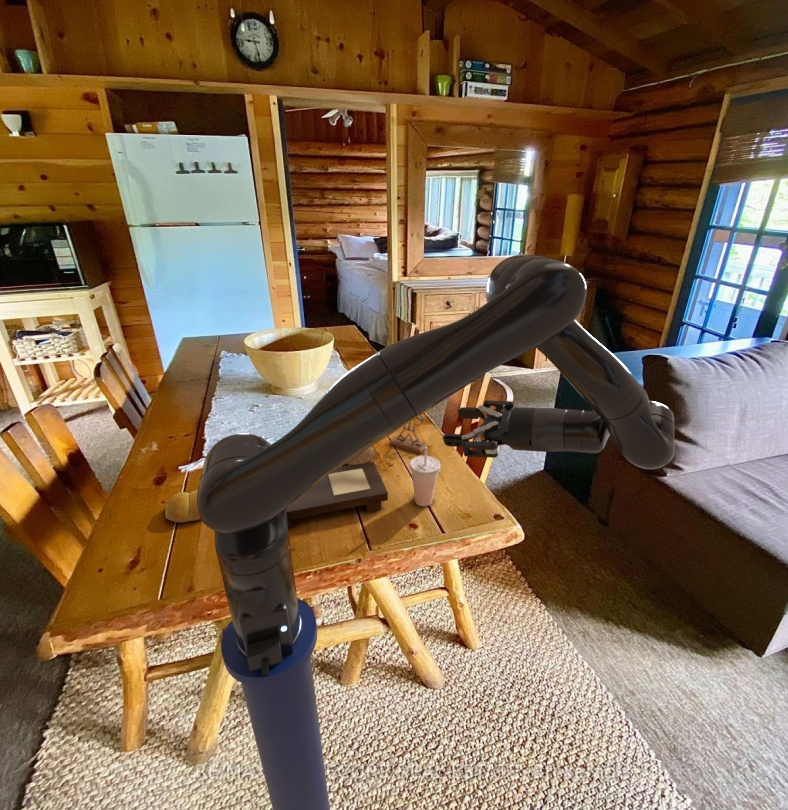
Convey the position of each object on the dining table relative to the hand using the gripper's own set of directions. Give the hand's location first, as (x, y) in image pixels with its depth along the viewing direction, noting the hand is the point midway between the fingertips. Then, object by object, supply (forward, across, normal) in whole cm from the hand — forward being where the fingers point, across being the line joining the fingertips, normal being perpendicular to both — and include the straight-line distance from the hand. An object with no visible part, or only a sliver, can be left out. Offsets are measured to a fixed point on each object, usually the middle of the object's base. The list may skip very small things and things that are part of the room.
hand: (452, 425), depth 83 cm
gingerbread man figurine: (+22, -16, +19) cm, 34 cm away
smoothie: (+10, +2, +19) cm, 22 cm away
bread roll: (+50, +26, +6) cm, 57 cm away
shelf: (+28, +12, +13) cm, 33 cm away
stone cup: (+34, -6, +15) cm, 38 cm away
